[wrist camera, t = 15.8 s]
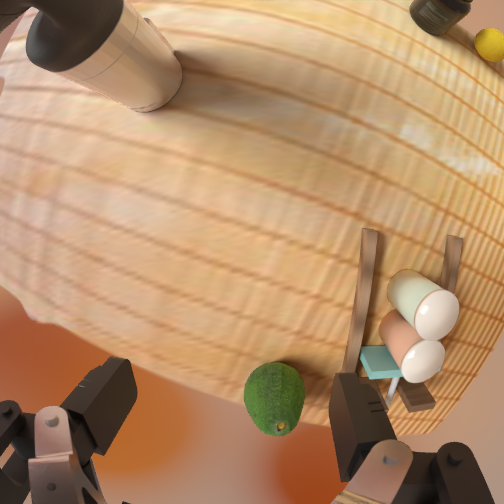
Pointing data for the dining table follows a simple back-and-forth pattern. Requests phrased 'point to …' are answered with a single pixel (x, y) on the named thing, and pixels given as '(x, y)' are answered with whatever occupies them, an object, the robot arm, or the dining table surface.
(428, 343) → the jar
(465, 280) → the dining table surface
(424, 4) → the supplement bottle
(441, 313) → the sage jar
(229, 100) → the dining table surface
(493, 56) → the lemon
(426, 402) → the lane
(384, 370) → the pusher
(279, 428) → the fruit
